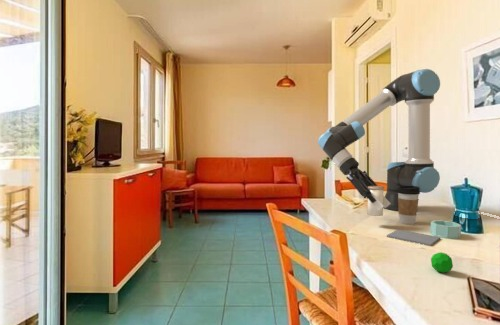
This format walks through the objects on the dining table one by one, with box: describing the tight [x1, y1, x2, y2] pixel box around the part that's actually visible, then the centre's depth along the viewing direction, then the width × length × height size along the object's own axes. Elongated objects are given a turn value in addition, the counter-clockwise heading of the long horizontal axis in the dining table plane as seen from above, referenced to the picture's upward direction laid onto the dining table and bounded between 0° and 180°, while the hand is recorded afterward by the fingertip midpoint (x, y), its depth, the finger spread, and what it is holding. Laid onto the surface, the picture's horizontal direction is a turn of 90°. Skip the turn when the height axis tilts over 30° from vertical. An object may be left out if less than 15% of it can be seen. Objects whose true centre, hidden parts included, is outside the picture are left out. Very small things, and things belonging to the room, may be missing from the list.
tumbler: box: [367, 185, 385, 217], centre depth 128 cm, size 6×6×11 cm
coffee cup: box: [397, 186, 421, 225], centre depth 135 cm, size 8×8×15 cm
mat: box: [386, 228, 441, 247], centre depth 114 cm, size 11×14×1 cm
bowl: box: [429, 219, 462, 240], centre depth 117 cm, size 9×9×4 cm
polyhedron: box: [430, 252, 454, 274], centre depth 85 cm, size 5×5×5 cm
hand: (384, 207), depth 126 cm, fingers closed on tumbler, 6 cm apart
